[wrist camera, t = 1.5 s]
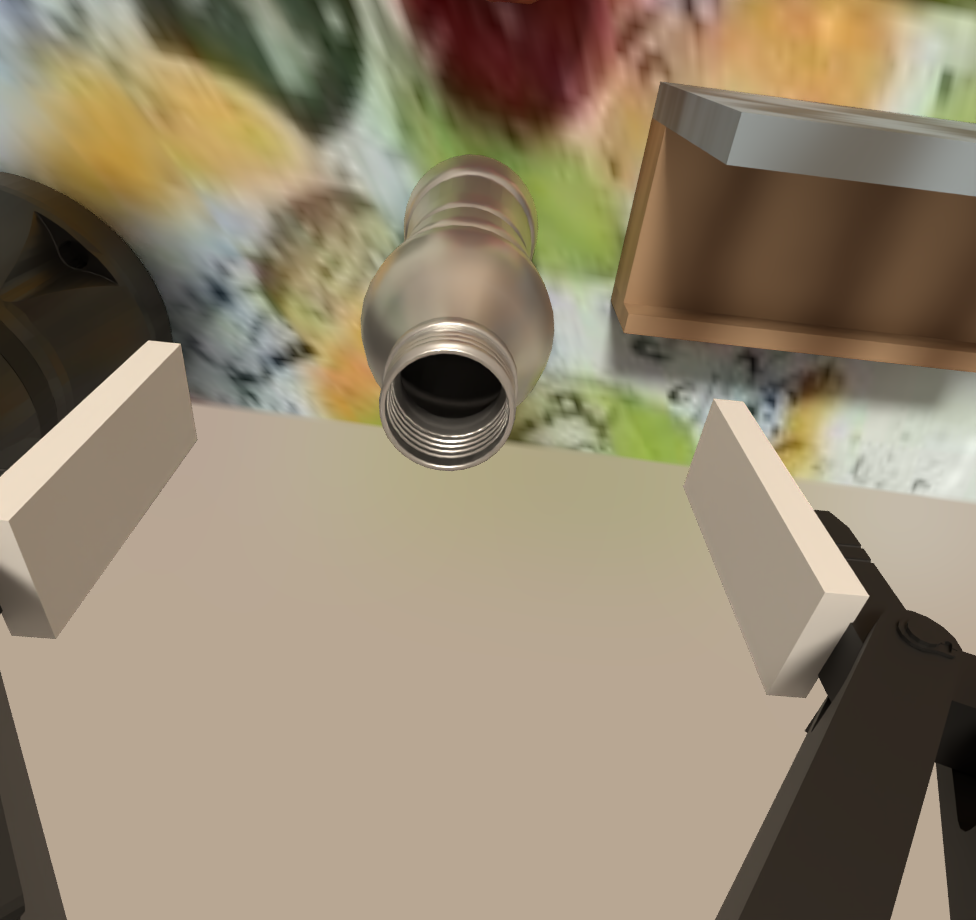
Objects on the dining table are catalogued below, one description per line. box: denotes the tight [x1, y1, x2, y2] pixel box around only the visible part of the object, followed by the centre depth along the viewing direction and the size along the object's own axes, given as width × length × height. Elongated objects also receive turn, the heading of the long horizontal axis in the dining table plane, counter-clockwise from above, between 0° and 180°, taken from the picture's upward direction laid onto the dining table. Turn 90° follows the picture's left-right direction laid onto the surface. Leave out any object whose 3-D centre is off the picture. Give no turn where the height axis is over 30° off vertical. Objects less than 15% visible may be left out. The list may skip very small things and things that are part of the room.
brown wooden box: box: [611, 82, 976, 372], centre depth 28 cm, size 20×10×12 cm, turn 84°
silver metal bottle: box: [361, 155, 554, 471], centre depth 25 cm, size 6×7×20 cm
